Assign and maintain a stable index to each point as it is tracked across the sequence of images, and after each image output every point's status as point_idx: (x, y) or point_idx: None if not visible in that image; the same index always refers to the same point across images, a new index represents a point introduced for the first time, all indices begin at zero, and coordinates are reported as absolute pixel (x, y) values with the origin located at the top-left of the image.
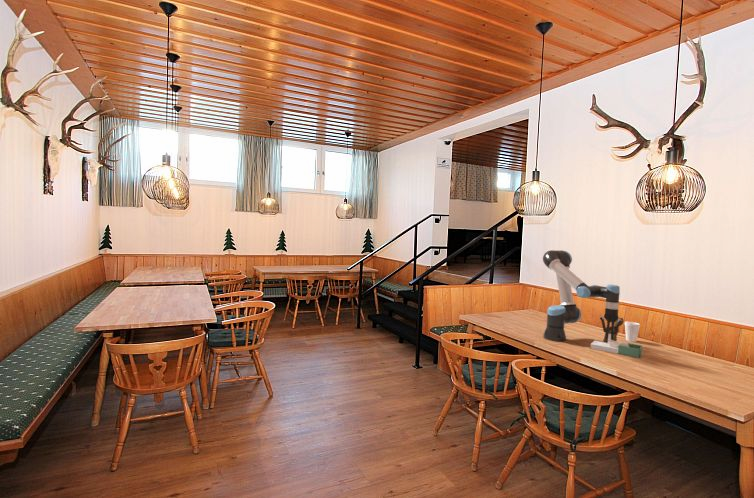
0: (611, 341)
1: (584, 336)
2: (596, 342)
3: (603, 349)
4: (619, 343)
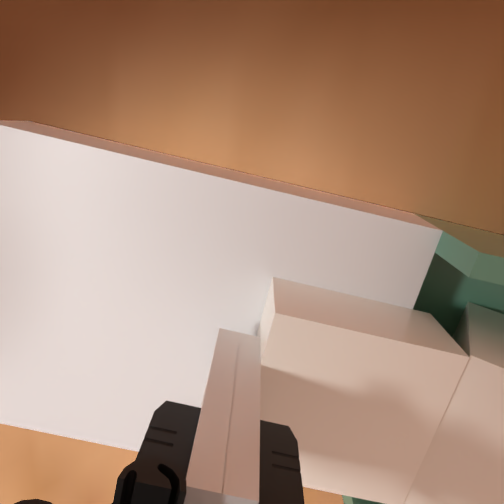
0: (261, 418)
1: None
2: (32, 263)
3: None
4: (390, 482)
